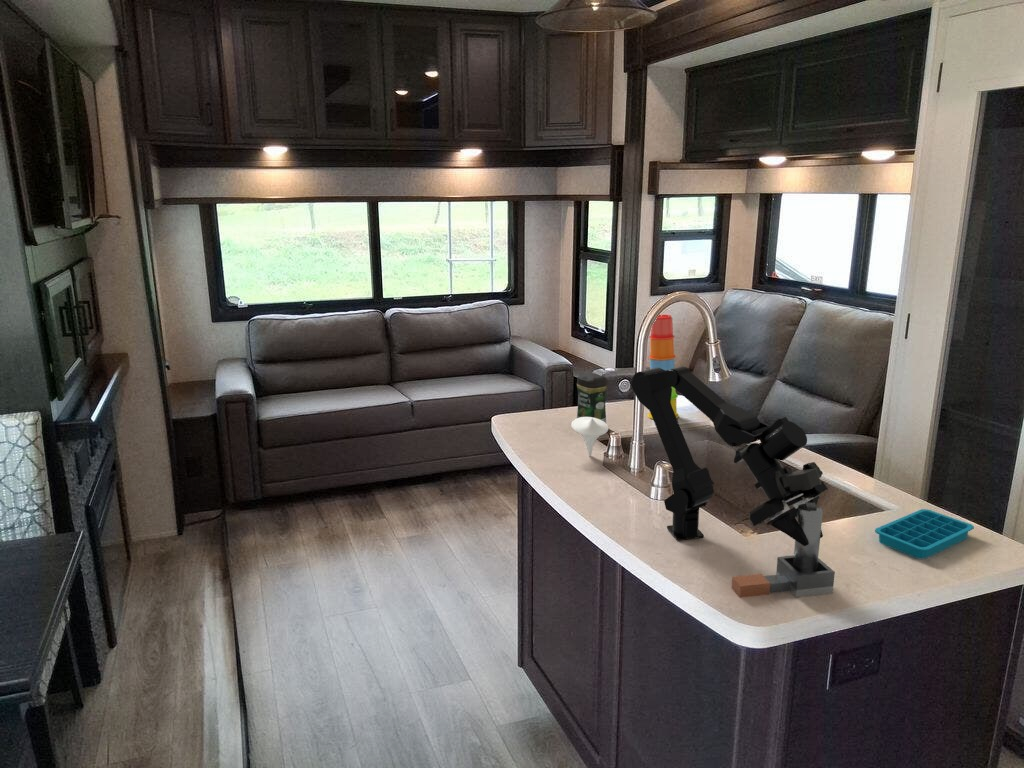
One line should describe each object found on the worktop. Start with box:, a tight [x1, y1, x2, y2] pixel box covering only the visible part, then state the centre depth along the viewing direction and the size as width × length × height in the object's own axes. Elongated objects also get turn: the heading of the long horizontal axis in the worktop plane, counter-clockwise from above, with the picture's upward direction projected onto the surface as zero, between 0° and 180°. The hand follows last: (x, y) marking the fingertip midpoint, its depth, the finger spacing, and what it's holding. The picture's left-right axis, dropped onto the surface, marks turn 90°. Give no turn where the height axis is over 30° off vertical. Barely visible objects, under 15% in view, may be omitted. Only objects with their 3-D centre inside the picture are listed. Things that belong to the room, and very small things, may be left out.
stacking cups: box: [647, 314, 680, 420], centre depth 249 cm, size 10×10×35 cm
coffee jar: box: [576, 371, 608, 424], centre depth 240 cm, size 10×8×19 cm
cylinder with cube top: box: [793, 502, 824, 574], centre depth 144 cm, size 4×4×14 cm
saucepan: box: [731, 554, 836, 598], centre depth 145 cm, size 8×18×4 cm, turn 99°
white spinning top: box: [570, 417, 609, 457], centre depth 217 cm, size 10×11×12 cm
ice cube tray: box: [874, 508, 975, 560], centre depth 163 cm, size 12×20×3 cm, turn 122°
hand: (813, 541), depth 143 cm, fingers closed on cylinder with cube top, 4 cm apart
